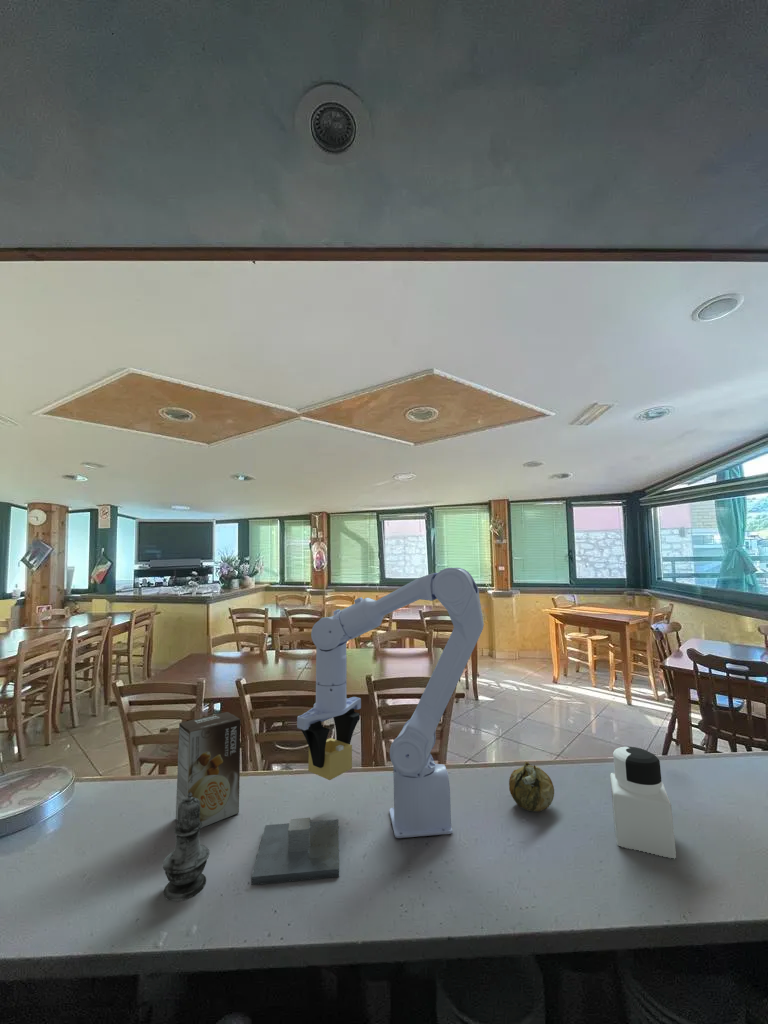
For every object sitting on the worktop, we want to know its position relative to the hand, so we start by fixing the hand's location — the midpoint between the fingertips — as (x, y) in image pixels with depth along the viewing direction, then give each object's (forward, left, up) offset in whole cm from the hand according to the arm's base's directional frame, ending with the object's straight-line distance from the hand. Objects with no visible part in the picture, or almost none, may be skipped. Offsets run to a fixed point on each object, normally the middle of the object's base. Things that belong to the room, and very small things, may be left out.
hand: (330, 759), depth 77 cm
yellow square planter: (0, 0, -2) cm, 2 cm away
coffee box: (+22, -1, -9) cm, 23 cm away
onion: (-36, +4, -9) cm, 38 cm away
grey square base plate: (+5, +11, -8) cm, 15 cm away
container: (-49, +15, -9) cm, 52 cm away
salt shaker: (+20, +16, -9) cm, 27 cm away
